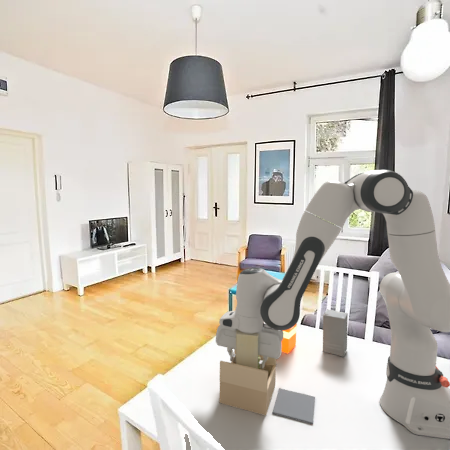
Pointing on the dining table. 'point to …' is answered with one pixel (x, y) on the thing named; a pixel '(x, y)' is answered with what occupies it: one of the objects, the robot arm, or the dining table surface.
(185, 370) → the dining table surface
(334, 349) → the skincare box
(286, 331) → the orange juice
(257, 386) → the carton
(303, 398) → the mat
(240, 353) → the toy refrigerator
